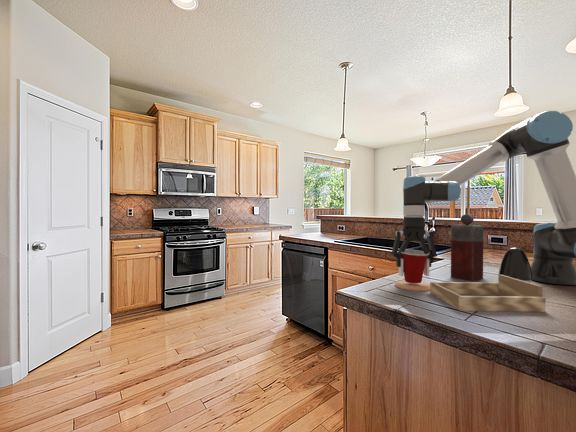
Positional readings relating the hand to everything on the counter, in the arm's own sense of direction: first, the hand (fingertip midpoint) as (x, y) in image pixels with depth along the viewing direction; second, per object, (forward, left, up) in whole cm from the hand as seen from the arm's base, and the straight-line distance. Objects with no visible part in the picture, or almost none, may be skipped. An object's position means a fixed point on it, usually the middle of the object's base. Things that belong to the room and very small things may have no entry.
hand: (413, 275), depth 108 cm
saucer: (0, 0, -4) cm, 4 cm away
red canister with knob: (-29, -13, -5) cm, 32 cm away
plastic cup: (0, 0, -3) cm, 3 cm away
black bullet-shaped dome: (-40, -2, -5) cm, 40 cm away
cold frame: (-14, +18, -4) cm, 23 cm away
